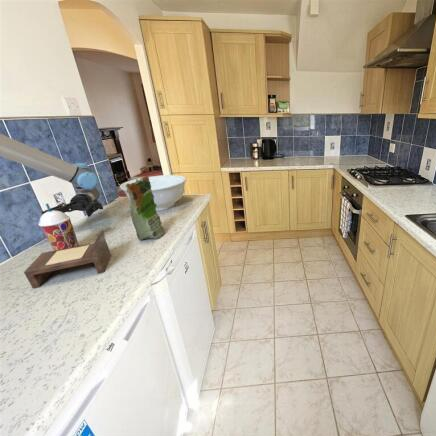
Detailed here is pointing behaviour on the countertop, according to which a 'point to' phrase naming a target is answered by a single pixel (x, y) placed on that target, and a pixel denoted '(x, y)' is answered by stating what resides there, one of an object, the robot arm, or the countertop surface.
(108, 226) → the countertop surface
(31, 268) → the shelf
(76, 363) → the countertop surface
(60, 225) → the smoothie
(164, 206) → the bowl
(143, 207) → the pouch
